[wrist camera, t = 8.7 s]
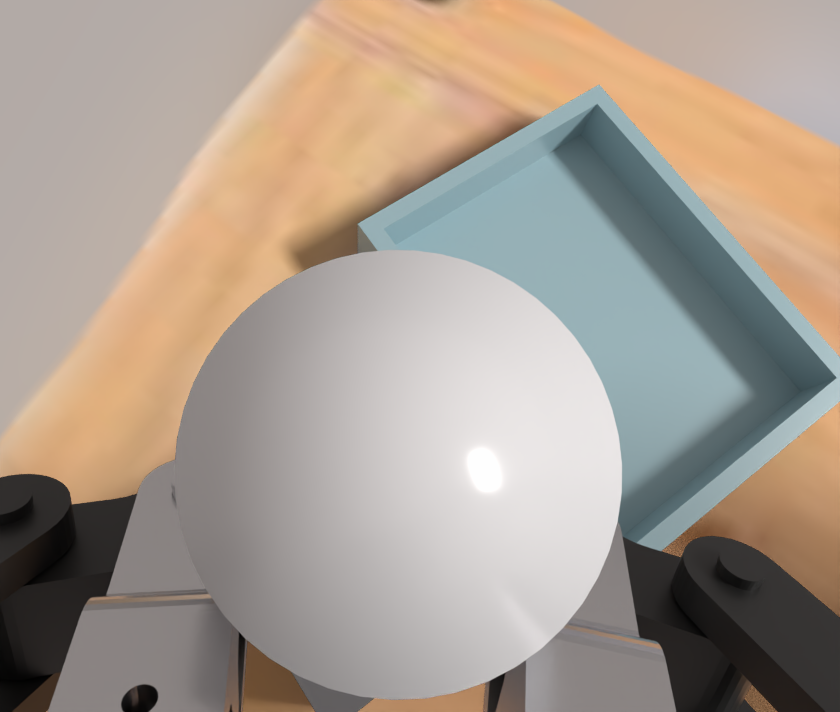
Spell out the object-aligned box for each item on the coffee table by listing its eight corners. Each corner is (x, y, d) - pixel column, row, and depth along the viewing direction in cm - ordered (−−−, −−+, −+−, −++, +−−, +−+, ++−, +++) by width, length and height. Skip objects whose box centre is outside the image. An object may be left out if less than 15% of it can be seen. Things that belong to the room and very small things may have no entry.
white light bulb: (393, 422, 16) (454, 182, 6) (477, 543, 16) (710, 508, 5) (270, 504, 16) (91, 392, 5) (353, 637, 15) (338, 817, 4)
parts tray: (578, 123, 34) (599, 84, 32) (815, 398, 31) (862, 382, 28) (357, 254, 31) (357, 223, 28) (595, 580, 27) (623, 582, 25)
